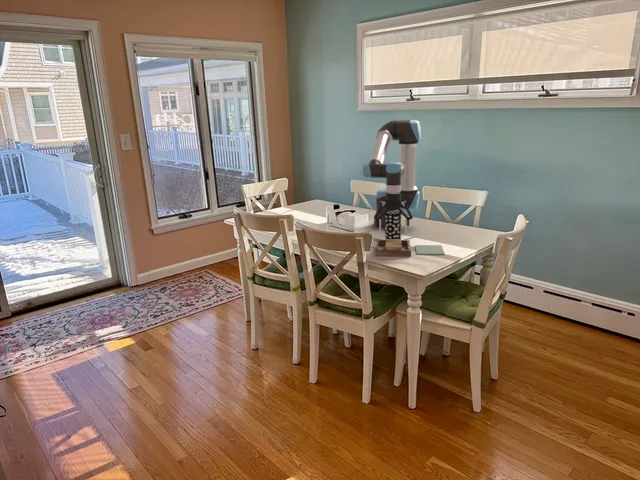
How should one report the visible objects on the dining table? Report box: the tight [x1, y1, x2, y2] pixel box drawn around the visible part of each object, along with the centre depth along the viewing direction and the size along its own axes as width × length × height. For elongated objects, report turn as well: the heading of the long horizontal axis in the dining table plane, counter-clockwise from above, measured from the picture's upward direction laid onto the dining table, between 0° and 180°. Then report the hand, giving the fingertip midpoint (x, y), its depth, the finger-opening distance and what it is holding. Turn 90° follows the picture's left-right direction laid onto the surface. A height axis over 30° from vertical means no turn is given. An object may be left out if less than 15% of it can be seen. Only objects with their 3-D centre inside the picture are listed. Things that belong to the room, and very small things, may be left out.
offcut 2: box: [385, 245, 403, 250], centre depth 231 cm, size 5×8×2 cm, turn 85°
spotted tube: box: [384, 210, 402, 250], centre depth 237 cm, size 8×8×20 cm
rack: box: [375, 239, 412, 257], centre depth 236 cm, size 18×18×3 cm
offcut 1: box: [386, 238, 403, 247], centre depth 230 cm, size 5×8×2 cm, turn 80°
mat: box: [414, 244, 446, 256], centre depth 234 cm, size 14×14×1 cm
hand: (392, 231), depth 237 cm, fingers open, 13 cm apart
